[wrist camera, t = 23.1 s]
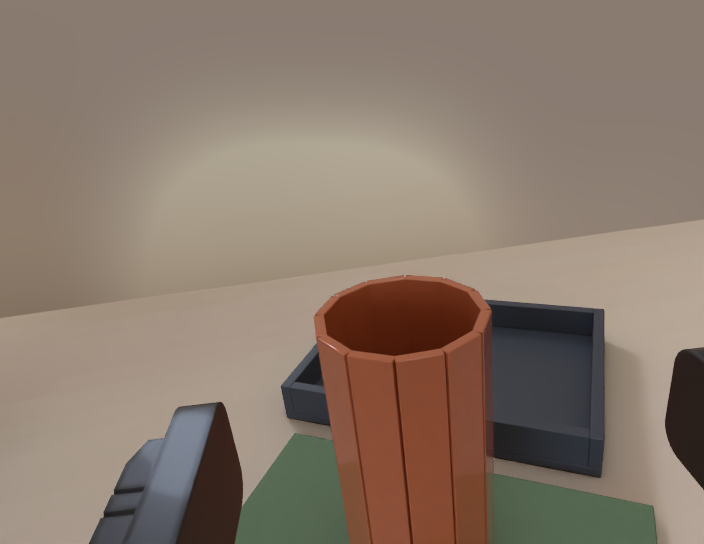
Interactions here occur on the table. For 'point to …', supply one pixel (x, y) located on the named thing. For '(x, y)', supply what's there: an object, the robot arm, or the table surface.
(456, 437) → the tumbler
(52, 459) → the table surface
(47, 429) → the table surface
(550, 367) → the tray
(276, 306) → the table surface
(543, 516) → the mat
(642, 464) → the table surface
